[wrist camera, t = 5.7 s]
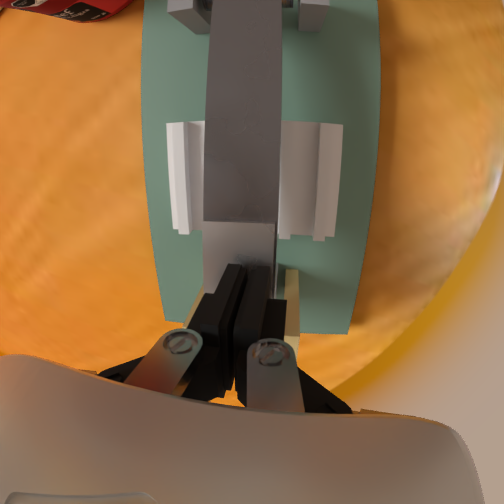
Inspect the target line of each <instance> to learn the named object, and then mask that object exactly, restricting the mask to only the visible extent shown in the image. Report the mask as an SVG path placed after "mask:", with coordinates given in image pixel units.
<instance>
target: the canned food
mask: <svg viewBox="0 0 504 504" xmlns="http://www.w3.org/2000/svg"><path fill="white" fill-rule="evenodd" d="M132 1H133V0H0V7H6V8H13V9H19V10H25V11H31V12H36V13H41V14H46V15H50V16H54V17H59V18H63V19H67V20H71V21H74V22H78V23H89V22H96V21H101V20H103V19H106V18H109V17H111V16H113V15H114V14H116V13H118V12H119V11H121V10H122V9H124V8H125V7H126V6H128V5H129V4H130V3H131V2H132Z"/></svg>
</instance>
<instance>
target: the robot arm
mask: <svg viewBox="0 0 504 504" xmlns="http://www.w3.org/2000/svg"><path fill="white" fill-rule="evenodd" d="M2 8H3V7H0V11H1V10H2ZM270 277H271V266H257V267H256V269H251V271H250V274H249V278H248V281H247V268H243V267H242V264H230V263H228V264H227V267H226V269H225V271H224V273H223V275H222V277H221V279H220V282H219V284H218V286H217V288H216V290H215V292H214V293H205V294H204V295H203V297H202V299H201V301H200V303H199V305H198V307H197V308H196V310H195V312H194V314H193V316H192V318H191V320H190V322H189V324H188V326H187V328H186V329H185V328H182V329H174V330H171V331H169V332H167V333H165V334H164V335H163V336H162V337H161V338H160V339H159V340H158V341H157V342H156V344H155V345H154V346H153V347H152V348H151V350H150V351H149V352H148V353H147V354H146V356H143V357H140V358H137V359H135V360H132V361H129V362H126V363H123V364H120V365H118V366H115V367H112V368H109V369H106V370H104V371H102V372H100V373H99V374H97V372H96V371H89V370H80V369H75V368H72V367H69V366H66V365H63V364H60V363H57V362H54V361H50V360H48V359H44V358H40V357H36V356H31V355H23V354H11V355H5V356H1V357H0V504H485V503H484V497H483V493H482V489H481V485H480V481H479V477H478V473H477V470H476V467H475V464H474V461H473V459H472V456H471V454H470V451H469V449H468V447H467V445H466V444H465V442H464V440H463V439H462V437H461V436H460V435H459V434H458V433H457V432H456V431H455V430H454V429H452V428H451V427H449V426H447V425H444V424H442V423H439V422H437V421H433V420H429V419H425V418H421V417H415V416H408V415H399V414H392V413H385V412H378V411H372V410H365V409H361V410H360V412H358V411H352V410H351V408H350V407H349V406H348V405H347V404H346V403H345V402H343V401H342V400H341V399H339V398H337V397H336V396H335V395H334V394H332V393H331V392H330V391H328V390H327V389H326V388H324V387H323V386H322V385H320V384H319V383H318V382H317V381H315V380H314V379H313V378H311V377H310V376H309V375H307V374H306V373H305V372H304V371H302V370H301V369H300V368H298V367H297V362H296V356H295V352H294V350H293V348H292V347H291V346H290V345H289V344H288V343H286V342H285V341H284V335H285V322H286V309H287V300H284V299H270ZM234 377H235V391H237V396H238V400H239V401H240V402H241V403H242V404H243V405H244V406H245V407H238V406H231V405H224V404H217V403H211V401H210V400H212V399H214V398H216V397H220V398H224V396H225V392H226V390H230V391H231V389H232V385H233V381H234Z"/></svg>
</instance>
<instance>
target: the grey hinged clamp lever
mask: <svg viewBox="0 0 504 504" xmlns="http://www.w3.org/2000/svg"><path fill="white" fill-rule="evenodd" d="M202 4H203V7H204V9H205V10H206V11H212V15H211V27H210V39H209V53H208V68H207V85H206V105H205V131H204V174H203V221H202V244H203V287H204V294H205V293H214V292H215V290H216V288H217V286H218V284H219V282H220V279H221V277H222V275H223V273H224V271H225V269H226V267H227V264H228V263H230V264H242V267H243V268H247V281H248V278H249V274H250V271H251V269H256V267H257V266H271V277H270V299H274V296H275V278H276V259H277V238H278V216H279V190H280V159H281V120H282V8H293V0H202Z"/></svg>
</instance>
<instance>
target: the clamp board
mask: <svg viewBox="0 0 504 504" xmlns="http://www.w3.org/2000/svg"><path fill="white" fill-rule="evenodd" d="M211 15H212V11H206V10H205V9H204V7H203V4H202V0H145V3H144V16H143V31H142V55H141V113H142V139H143V156H144V170H145V182H146V193H147V203H148V212H149V221H150V229H151V237H152V244H153V251H154V258H155V265H156V271H157V277H158V283H159V289H160V295H161V300H162V306H163V311H164V316H165V321H172V322H180V323H184V324H183V326H182V327H183V328H185V329H186V328H187V326H188V324H189V322H190V320H191V318H192V316H193V314H194V312H195V310H196V308H197V307H198V305H199V303H200V301H201V299H202V297H203V295H204V287H203V244H202V221H203V174H204V131H205V105H206V85H207V68H208V53H209V39H210V27H211ZM380 89H381V64H380V33H379V17H378V5H377V0H293V8H282V120H281V159H280V190H279V216H278V238H277V259H276V278H275V296H274V299H284V300H287V309H286V322H285V335H284V341H285V342H286V343H288V344H289V345H290V346H291V347H292V348H293V350H294V352H295V356H296V360H297V353H298V346H299V339H300V333H315V334H348V330H349V326H350V322H351V317H352V313H353V309H354V304H355V300H356V295H357V290H358V286H359V281H360V276H361V271H362V265H363V260H364V254H365V248H366V242H367V236H368V230H369V223H370V216H371V209H372V201H373V193H374V184H375V175H376V164H377V153H378V139H379V121H380Z"/></svg>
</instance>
